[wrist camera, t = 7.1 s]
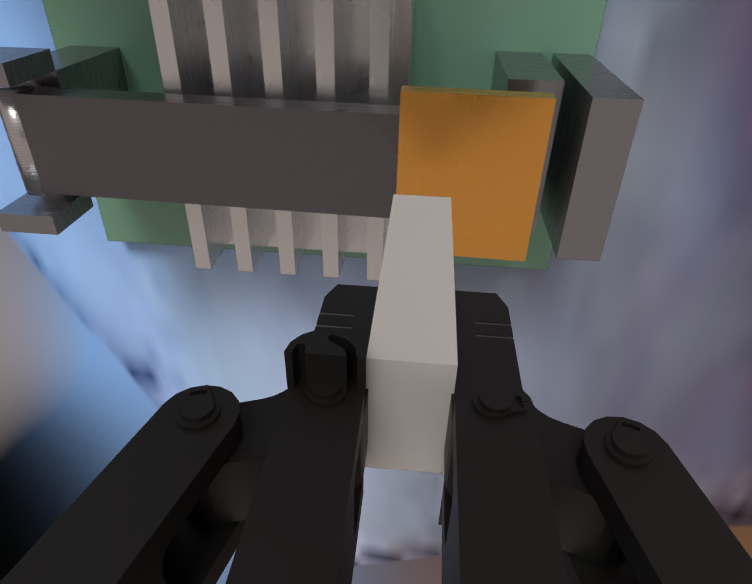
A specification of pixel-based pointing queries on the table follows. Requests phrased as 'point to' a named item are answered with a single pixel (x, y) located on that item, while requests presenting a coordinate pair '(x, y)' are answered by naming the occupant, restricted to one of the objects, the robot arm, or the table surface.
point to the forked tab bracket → (64, 71)
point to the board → (429, 68)
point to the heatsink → (289, 82)
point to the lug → (576, 144)
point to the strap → (294, 153)
